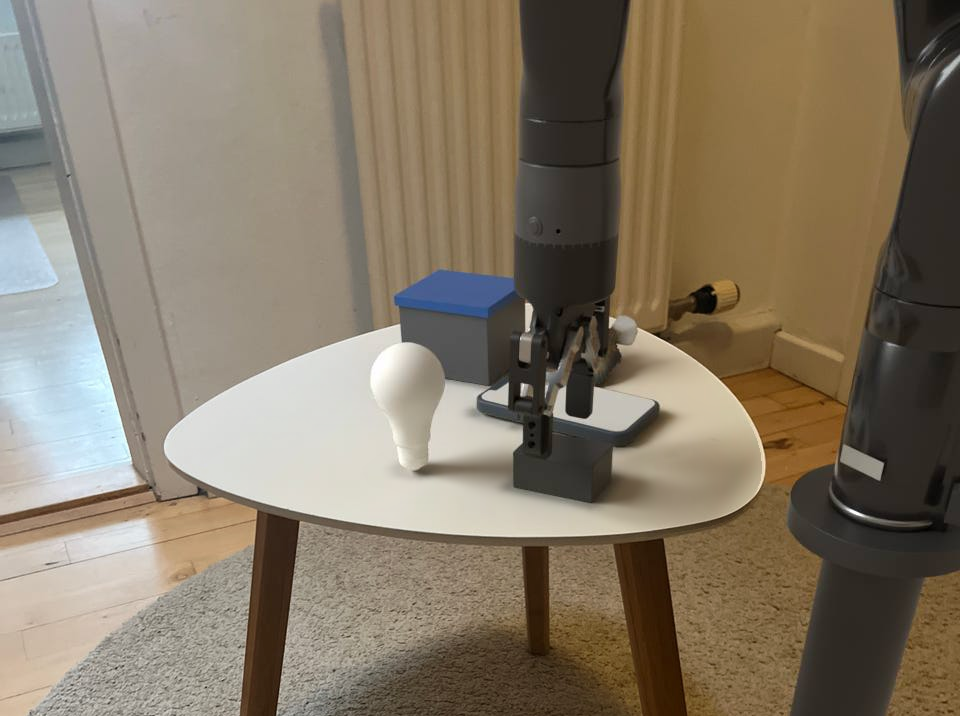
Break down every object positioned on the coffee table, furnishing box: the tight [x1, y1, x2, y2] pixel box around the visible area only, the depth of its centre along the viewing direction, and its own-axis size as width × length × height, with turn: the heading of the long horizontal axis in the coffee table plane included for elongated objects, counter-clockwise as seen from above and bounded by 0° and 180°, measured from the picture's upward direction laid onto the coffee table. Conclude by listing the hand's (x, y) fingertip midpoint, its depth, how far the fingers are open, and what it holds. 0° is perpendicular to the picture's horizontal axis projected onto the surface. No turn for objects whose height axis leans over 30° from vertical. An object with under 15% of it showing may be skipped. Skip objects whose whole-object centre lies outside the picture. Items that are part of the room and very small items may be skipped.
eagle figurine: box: [593, 314, 639, 387], centre depth 100 cm, size 8×7×9 cm
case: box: [512, 433, 614, 504], centre depth 81 cm, size 7×5×3 cm, turn 63°
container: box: [393, 269, 526, 387], centre depth 102 cm, size 11×10×8 cm
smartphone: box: [476, 374, 661, 447], centre depth 93 cm, size 9×2×16 cm
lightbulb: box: [369, 342, 446, 472], centre depth 82 cm, size 6×6×11 cm
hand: (558, 435), depth 80 cm, fingers open, 8 cm apart
